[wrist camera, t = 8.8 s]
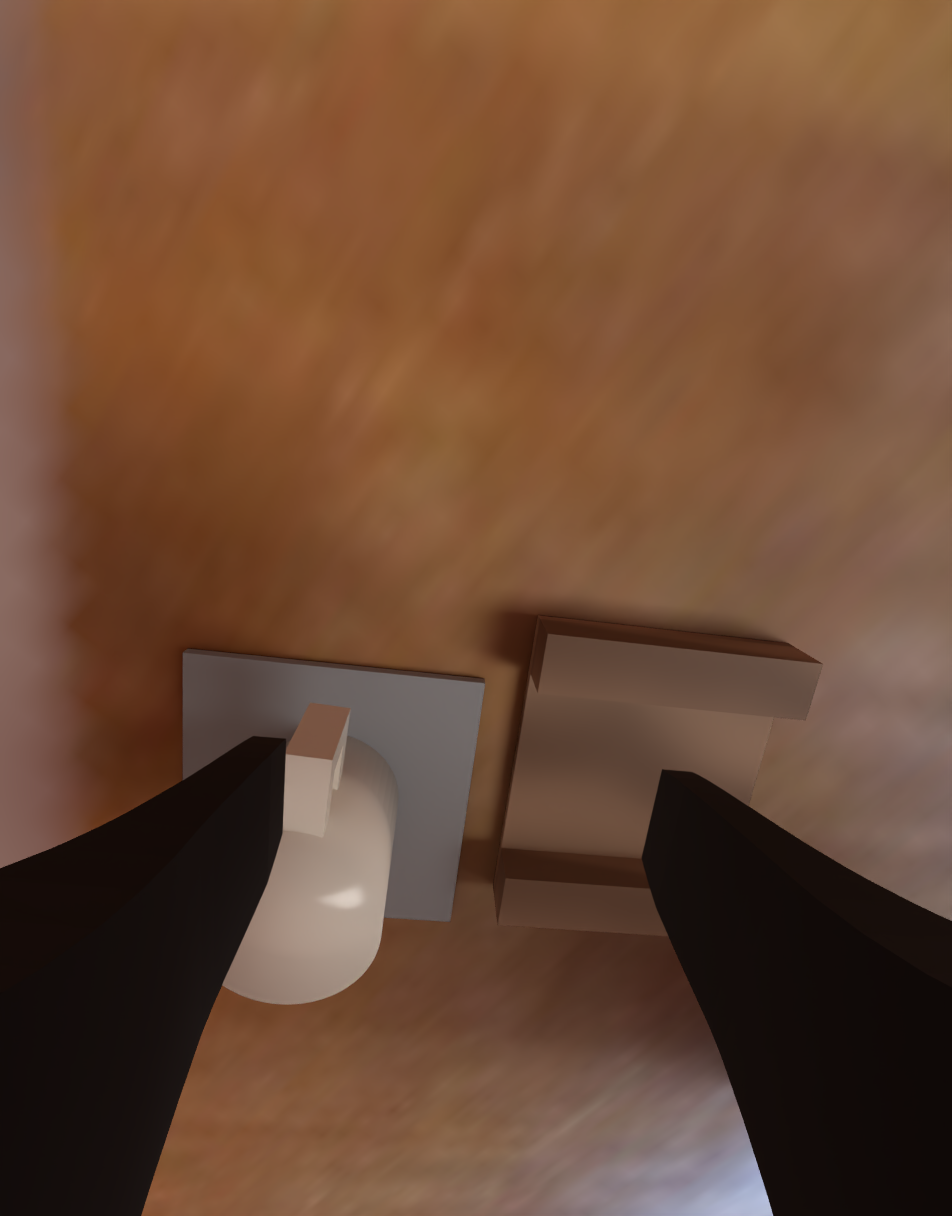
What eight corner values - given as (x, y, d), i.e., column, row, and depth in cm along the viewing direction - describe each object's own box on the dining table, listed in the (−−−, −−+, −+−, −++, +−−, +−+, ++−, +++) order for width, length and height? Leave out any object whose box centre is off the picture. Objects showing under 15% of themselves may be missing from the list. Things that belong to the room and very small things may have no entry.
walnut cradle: (714, 900, 24) (738, 941, 22) (492, 884, 23) (497, 925, 21) (788, 643, 21) (823, 664, 19) (537, 615, 20) (547, 633, 18)
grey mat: (450, 914, 23) (450, 921, 23) (187, 896, 23) (182, 904, 22) (484, 678, 21) (485, 683, 20) (187, 648, 20) (182, 652, 20)
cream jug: (388, 863, 22) (368, 1012, 16) (251, 847, 22) (180, 995, 16) (417, 685, 20) (406, 783, 15) (267, 663, 20) (195, 756, 14)
